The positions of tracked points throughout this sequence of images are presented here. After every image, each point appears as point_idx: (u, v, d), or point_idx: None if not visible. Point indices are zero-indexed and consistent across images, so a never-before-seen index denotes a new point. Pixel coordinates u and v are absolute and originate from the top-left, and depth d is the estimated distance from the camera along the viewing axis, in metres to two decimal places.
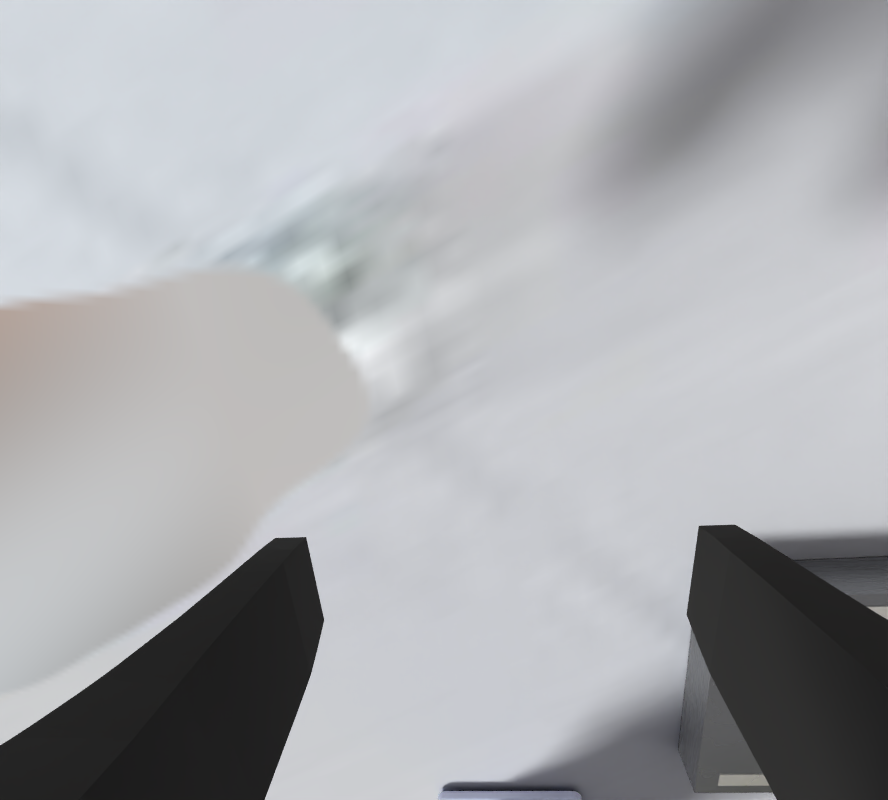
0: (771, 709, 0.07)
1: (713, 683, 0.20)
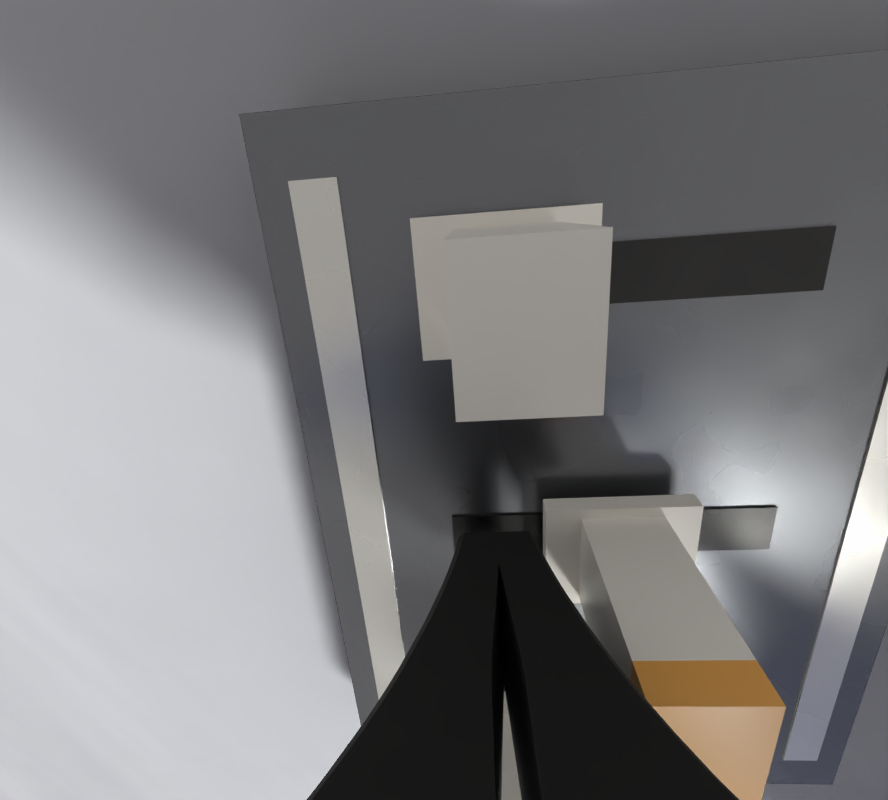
0: (514, 709, 0.07)
1: None
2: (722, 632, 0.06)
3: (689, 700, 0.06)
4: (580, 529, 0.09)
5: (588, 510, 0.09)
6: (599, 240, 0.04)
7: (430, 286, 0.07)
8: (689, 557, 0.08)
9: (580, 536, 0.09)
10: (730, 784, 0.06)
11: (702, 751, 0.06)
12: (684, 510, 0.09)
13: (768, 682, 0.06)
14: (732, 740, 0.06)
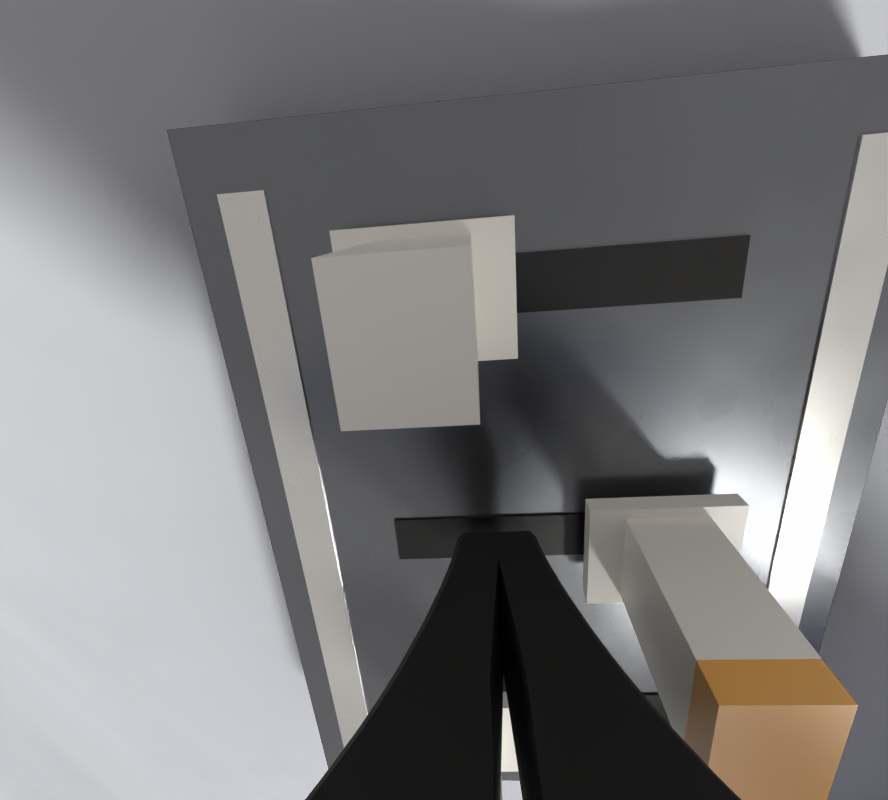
0: (515, 709, 0.07)
1: None
2: (784, 631, 0.06)
3: (759, 699, 0.06)
4: (624, 529, 0.09)
5: (633, 510, 0.09)
6: (458, 258, 0.04)
7: None
8: (740, 556, 0.08)
9: (624, 535, 0.09)
10: (796, 783, 0.06)
11: (771, 749, 0.06)
12: (729, 509, 0.09)
13: (836, 681, 0.06)
14: (802, 739, 0.06)
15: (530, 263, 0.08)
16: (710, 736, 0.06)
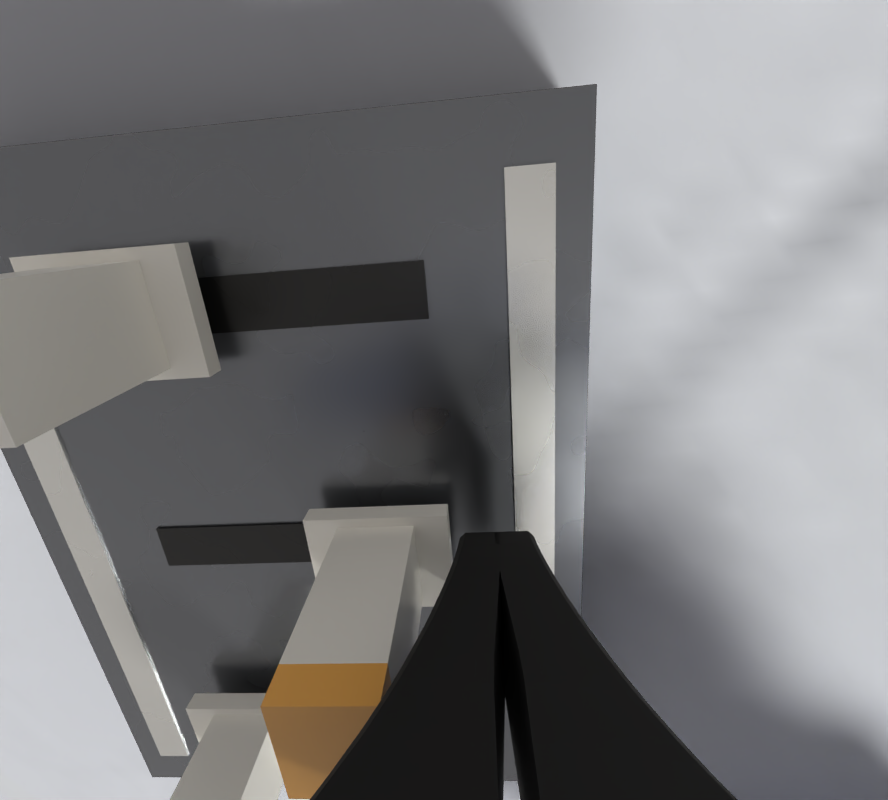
0: (513, 709, 0.07)
1: None
2: (377, 637, 0.07)
3: (303, 700, 0.06)
4: None
5: (341, 520, 0.09)
6: None
7: None
8: (405, 565, 0.08)
9: None
10: None
11: (324, 747, 0.06)
12: (430, 519, 0.09)
13: (384, 684, 0.06)
14: (346, 737, 0.06)
15: (229, 286, 0.08)
16: (276, 735, 0.06)
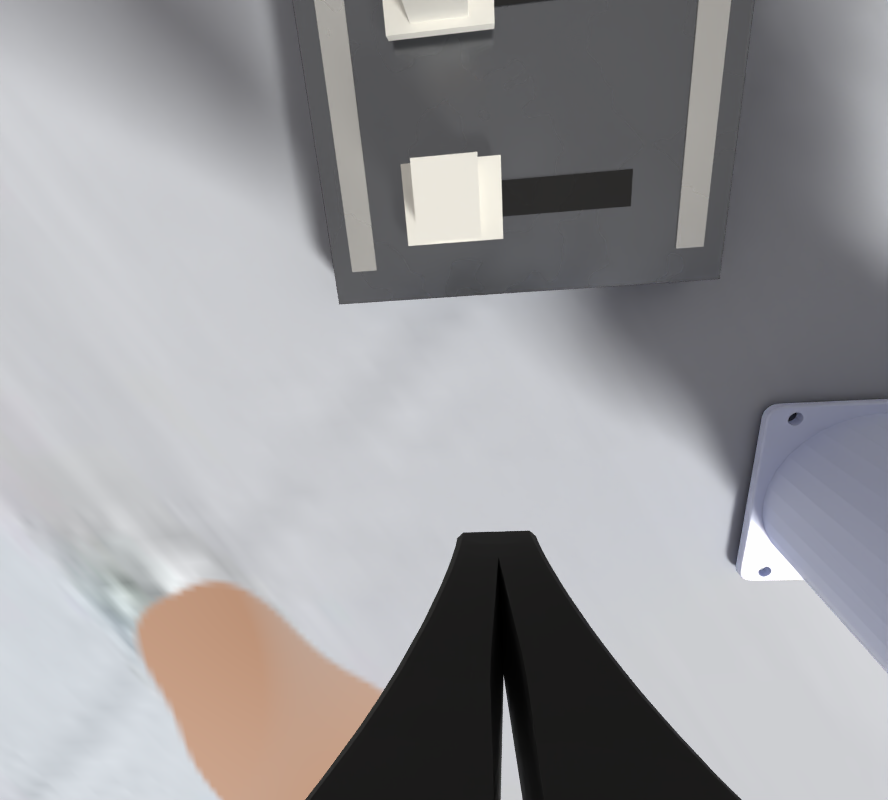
0: (515, 710, 0.07)
1: (479, 289, 0.15)
2: None
3: None
4: None
5: None
6: None
7: None
8: None
9: None
10: None
11: None
12: None
13: None
14: None
15: None
16: None
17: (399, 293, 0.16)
